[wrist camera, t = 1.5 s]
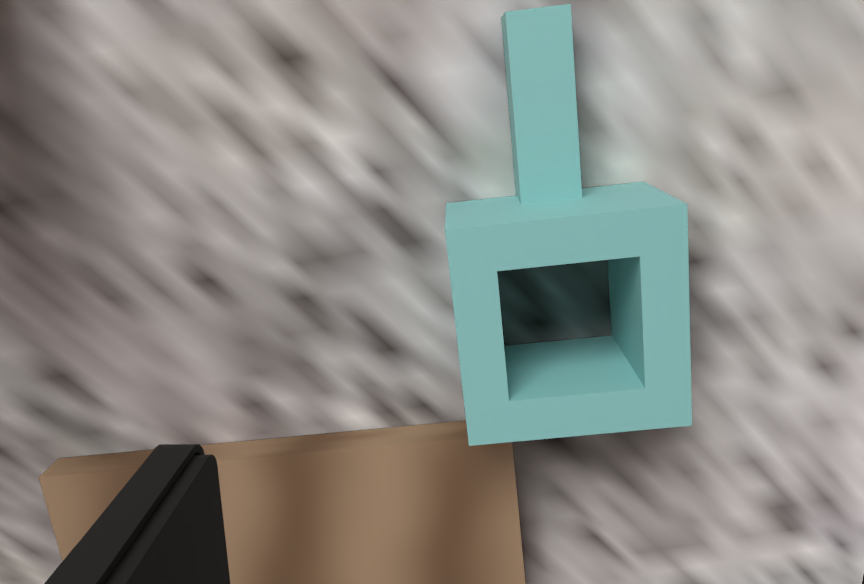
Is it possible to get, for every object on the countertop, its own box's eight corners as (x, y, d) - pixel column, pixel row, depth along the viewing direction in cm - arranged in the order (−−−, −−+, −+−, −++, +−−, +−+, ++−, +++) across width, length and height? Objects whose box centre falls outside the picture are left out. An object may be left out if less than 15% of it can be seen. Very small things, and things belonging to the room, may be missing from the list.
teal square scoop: (650, 366, 28) (691, 425, 23) (466, 384, 28) (468, 446, 24) (637, 0, 25) (682, -20, 20) (426, 26, 25) (420, 12, 20)
